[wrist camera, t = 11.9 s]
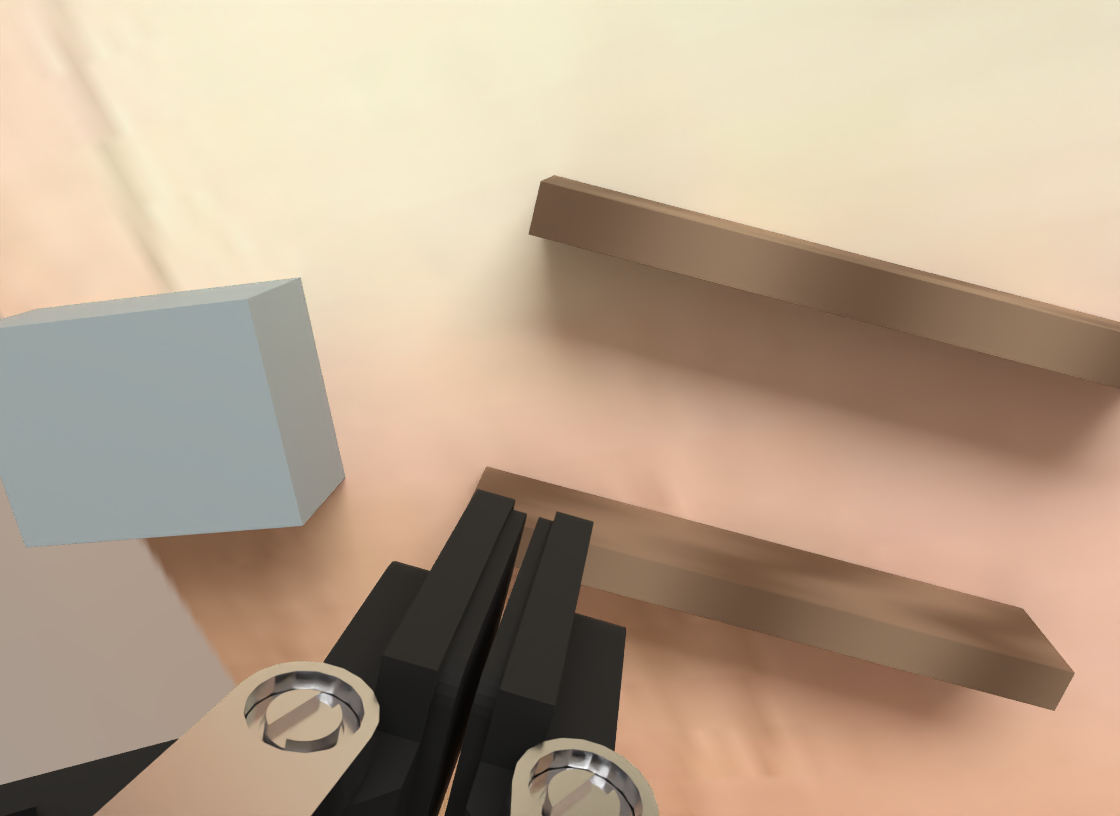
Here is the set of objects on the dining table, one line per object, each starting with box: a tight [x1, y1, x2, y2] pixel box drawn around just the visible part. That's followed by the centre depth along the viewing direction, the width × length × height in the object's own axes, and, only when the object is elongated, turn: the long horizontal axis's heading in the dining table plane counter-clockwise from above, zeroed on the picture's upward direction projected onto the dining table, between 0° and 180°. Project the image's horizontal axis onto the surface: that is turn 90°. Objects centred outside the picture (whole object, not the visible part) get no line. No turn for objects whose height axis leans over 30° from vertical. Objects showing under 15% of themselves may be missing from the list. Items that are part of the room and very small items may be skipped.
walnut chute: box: [470, 175, 1120, 711], centre depth 21 cm, size 16×10×3 cm, turn 76°
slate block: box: [0, 278, 345, 547], centre depth 23 cm, size 8×6×4 cm
